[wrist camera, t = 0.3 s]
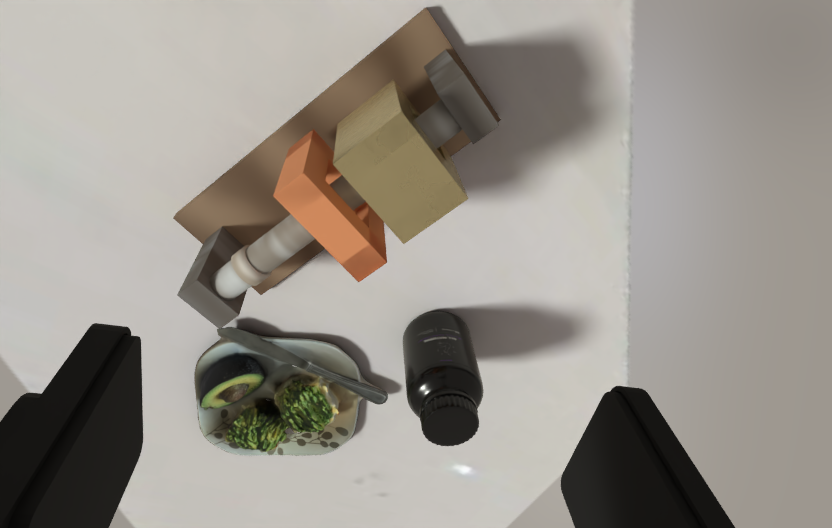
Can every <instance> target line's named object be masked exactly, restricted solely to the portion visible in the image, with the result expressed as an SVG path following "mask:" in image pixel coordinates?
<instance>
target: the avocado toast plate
mask: <svg viewBox="0 0 832 528" xmlns="http://www.w3.org/2000/svg"><path fill="white" fill-rule="evenodd" d="M217 332H218V335H219V336H221V339H220V340H219V341H218V342H216V343H215V344H214V345H212V346H211V347H210V348H209V349H207V350H206V351H205V352H204V353H203V354H202V356H201V357H200V358H199V360H198V362H197V365H196V369H195V389H196V400H197V409H198V420H199V424H200V429H201V431H202V433H203V435H204V437H205V438H206V439H207V440H208V441H209V442H210V443H212V444H213V445H215V446H217V447H218V448H220V449H222V450H224V451H226V452H229V453H232V454H236V455H248V456H254V455H295V456H299V455H322V454H326V453H329V452H332V451H334V450H336V449H338V448H339V447H341V446H342V445H343V444H345V443H346V442H347V441H348V440H349V439H350V438H351V437H352V436H353V434H354V432H355V429H356V422H357V418H358V410H359V403H360V402H361V399H363V398H365V399H366V400H369V401H371V402H373V403H375V404H383V403H385V402H386V401H387V398H388V394H387V393H386V392H385V391H384V390H382V389H380V388H378V387H376V386H374V385H372V384H370V383H368V382H367V381H365V380H364V378H363V377H362V375H361V373H360V371H359V368H358V366H357V364H356V362H355V361H354V360H352V359H351V358H350V357H349V356H348V355H347V354H346V353H345V352H343V351H342V350H341V349H340V348H339V347H338V346H336V345H334V344H330V343H327V342H323V341H317V340H312V339H301V338H278V337H265V336H259V335H256V334H253V333H251V332H248V331H244V330H240V329H237V328H233V327H227V328H221V329H217ZM292 365H294V366H297V367H294V366H292ZM266 399H269V400H271V401H267V400H266ZM289 427H290V428H292V430H293V432H294V433H296V434H286V433H285V430H286V429H287V428H289ZM297 432H300V433H297Z"/></svg>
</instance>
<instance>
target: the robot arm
mask: <svg viewBox="0 0 832 528" xmlns="http://www.w3.org/2000/svg"><path fill="white" fill-rule="evenodd" d="M142 444H143V415H142V369H141V339H140V337H138V336H131V331H130V329H129V328H128V327H122V326H114V325H106V324H97V323H95V324H92V326H91V327H90V328H89V329H88V330H87V332H86V333H85V335H84V336H83V337H82V339H81V340H80V341H79V343H78V344H77V346H76V347H75V348H74V350H73V351H72V353H71V354H70V355H69V357H68V358H67V360H66V361H65V362H64V364H63V365H62V366H61V368H60V369H59V371H58V372H57V373H56V375H55V376H54V378H53V379H52V380H51V382H50V383H49V385H48V386H47V387H46V389H45V390H44V392H43V393H42V394H38V393H26V394H24V395H22V396H21V397H20V398H19V399H18V400H17V401H16V402H15V403H14V405H13V406H12V407H11V409H10V410H9V411H8V413H7V414H6V415H5V416H4V418H3V419H2V420H1V422H0V528H109V526H110V523H111V521H112V519H113V517H114V514H115V512H116V510H117V507H118V505H119V503H120V501H121V498H122V496H123V494H124V491H125V489H126V487H127V484H128V482H129V480H130V478H131V475H132V473H133V471H134V468H135V466H136V464H137V462H138V459H139V456H140V453H141V449H142ZM561 490H562V493H563V496H564V499H565V501H566V504H567V507H568V509H569V512H570V515H571V517H572V520H573V523H574V526H575V528H735V527H734V525H733V524H732V522H731V521H730V519H729V517H728V516H727V515H726V513H725V511H724V510H723V508H722V507H721V505H720V504H719V502H718V501H717V499H716V497H715V496H714V494H713V493H712V491H711V490H710V488H709V487H708V485H707V484H706V482H705V481H704V479H703V477H702V476H701V474H700V473H699V471H698V470H697V468H696V467H695V465H694V464H693V462H692V461H691V459H690V457H689V456H688V454H687V453H686V451H685V450H684V448H683V447H682V445H681V444H680V442H679V441H678V439H677V437H676V436H675V435H674V433H673V431H672V430H671V428H670V427H669V425H668V424H667V422H666V420H665V419H664V418H663V416H662V414H661V413H660V411H659V410H658V408H657V407H656V405H655V404H654V402H653V401H652V399H651V397H650V396H649V394H648V393H647V392H646V391H645V390H643V389H639V388H632V387H623V386H615V387H614V388H612V390H611V391H610V392H607V393H605V394H604V396H603V397H602V399H601V401H600V403H599V405H598V407H597V409H596V411H595V413H594V415H593V416H592V418H591V420H590V422H589V424H588V426H587V428H586V430H585V432H584V434H583V436H582V438H581V440H580V441H579V443H578V445H577V447H576V449H575V451H574V453H573V455H572V457H571V459H570V461H569V463H568V465H567V466H566V468H565V470H564V472H563V474H562V478H561Z"/></svg>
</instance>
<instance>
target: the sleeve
mask: <svg viewBox="0 0 832 528" xmlns="http://www.w3.org/2000/svg"><path fill="white" fill-rule="evenodd" d="M419 115H420V114H419V113H418V111H417V110H416V109H415V107H414V106H413V105H412V103H411V102H410V101H409V99H408V98H407V97H406V95H405V94H404V93H403V91H402V90H401V89H400V87H399V86H398V85H397V83H396V82H395V81H394V79H393V80H392V81H391V82H390V83H388V84H387V85H386V86H385V87H383V88H382V89H381V90H380V91H378V92H377V93H376V94H375V95H373V96H372V97H371V98H370V99H368V100H367V101H366V102H365V103H363V104H362V105H361V106H360V107H358V108H357V109H356V110H354V111H353V112H352V113H351V114H349V115H348V116H347V117H346V118H344V119H343V120H342V121H341V122H339V123H338V124H337V133H336V141H335V150H334V159H333V165H334V166H335V167H336V168H337V170H338V171H339V172H340V173H341V174H342V175H343V176H344V177H345V179H346V180H347V181H348V182H349V183H350V184H351V185H352V186H353V188H354V189H355V190H356V191H357V192H358V193H359V194H360V195H361V197H362V198H363V199H364V200H365V201H366V202H367V203H368V204H369V206H370V207H371V208H372V209H373V210H374V211H375V212H376V213H377V215H378V216H379V217H380V218H381V219H382V220H383V221H384V222H385V224H386V225H387V226H388V227H389V228H390V229H391V230H392V231H393V233H394V234H395V235H396V236H397V237H398V238H399V239H400V240H401V241H402V243H403V244H404V243H406V242H407V241H409V240H410V239H412V238H413V237H414V236H416V235H417V234H419V233H420V232H421V231H423V230H424V229H426V228H427V227H429V226H430V225H431V224H433V223H434V222H436V221H437V220H439V219H440V218H441V217H443V216H444V215H446V214H447V213H449V212H450V211H451V210H453V209H454V208H456V207H457V206H459V205H460V204H461V203H463V202H464V201H466V200H467V199H468V197H467V194H466V192H465V189H464V187H463V185H462V182H461V180H460V178H459V175H458V173H457V170H456V168H455V166H454V163H453V161H452V159H451V156H450V154H449V153H448V151H447V150H446V149H445V147H444V146H443V145H441V146H440V147H438V148H436V147H435V146H434V144H433V143H432V142H431V140H430V139H429V138H428V137H427V135H426V134H425V133H424V131H423V130H422V129H421V127H420V126H419V125H418V123H417V122H416V121H415V119H416V118H417V117H418V116H419Z"/></svg>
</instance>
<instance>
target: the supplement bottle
mask: <svg viewBox="0 0 832 528" xmlns="http://www.w3.org/2000/svg"><path fill="white" fill-rule="evenodd" d="M403 353H404V365H405V378H406V390H407V399H408V403H409V406H410V408H411V409H412V411H413V412H414V413H415V414H416V415H417V416H418V417H419V418H420V420H421V426H422V431H423V434H424V435H425V437H426V438H427V439H428V440H429V441H431V442H432V443H435V444H437V445H441V446H454V445H459V444H461V443H464V442H465V441H468V440H469V439H470V438H472V437H473V435H475V433H476V432H477V429H478V427H479V419H478V414H477V413H478V411H477V408H478V407H479V405H480V403H481V401H482V397H483V385H482V380H481V376H480V372H479V368H478V364H477V360H476V356H475V352H474V348H473V344H472V340H471V337H470V333H469V330H468V328H467V326H466V324H465V323H464V322H463V321H462V320H461V319H460V318H459V317H457V316H455V315H453V314H451V313H448V312H441V311H436V312H429V313H426V314H423V315H421V316H419V317H417V318H416V319H414V320H413V321H412V322H411V323H410V324H409V325H408V327H407V328H406V330H405V332H404V336H403Z"/></svg>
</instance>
